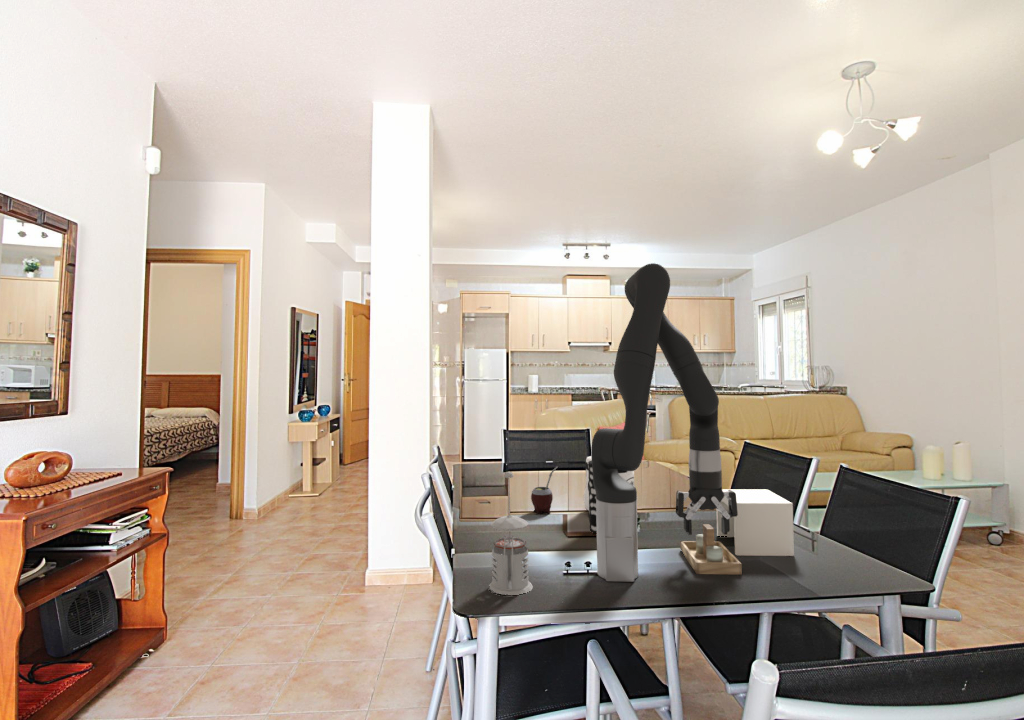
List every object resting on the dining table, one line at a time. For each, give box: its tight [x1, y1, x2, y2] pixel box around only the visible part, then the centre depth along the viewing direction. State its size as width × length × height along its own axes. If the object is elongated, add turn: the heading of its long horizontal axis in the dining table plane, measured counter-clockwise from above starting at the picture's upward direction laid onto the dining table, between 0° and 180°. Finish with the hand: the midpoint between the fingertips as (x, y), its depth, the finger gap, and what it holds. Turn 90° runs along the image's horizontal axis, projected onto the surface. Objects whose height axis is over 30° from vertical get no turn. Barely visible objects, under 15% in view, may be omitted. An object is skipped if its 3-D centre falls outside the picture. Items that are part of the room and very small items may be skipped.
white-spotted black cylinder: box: [588, 461, 597, 534], centre depth 159 cm, size 8×8×20 cm
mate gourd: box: [530, 466, 559, 516], centre depth 181 cm, size 8×8×15 cm
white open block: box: [715, 488, 795, 557], centre depth 144 cm, size 16×14×13 cm
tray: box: [679, 523, 743, 576], centre depth 132 cm, size 16×10×8 cm, turn 176°
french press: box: [488, 471, 534, 596], centre depth 118 cm, size 10×12×25 cm
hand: (706, 533), depth 134 cm, fingers open, 8 cm apart
